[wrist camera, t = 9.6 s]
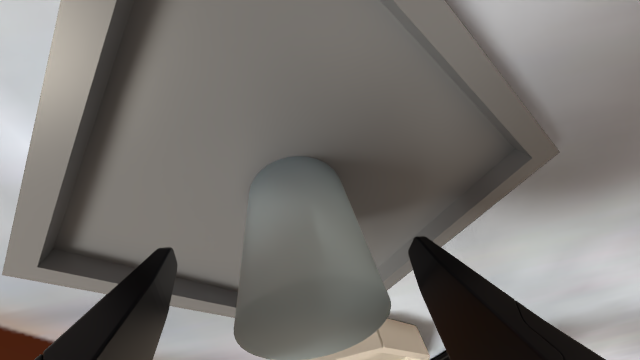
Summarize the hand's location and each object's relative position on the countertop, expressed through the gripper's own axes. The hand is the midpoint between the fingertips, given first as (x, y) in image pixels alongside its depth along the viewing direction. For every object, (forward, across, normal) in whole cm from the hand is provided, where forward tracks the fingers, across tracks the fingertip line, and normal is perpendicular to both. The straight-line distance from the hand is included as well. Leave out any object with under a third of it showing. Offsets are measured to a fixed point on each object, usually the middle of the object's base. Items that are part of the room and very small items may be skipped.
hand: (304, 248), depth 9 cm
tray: (+4, 0, 0) cm, 4 cm away
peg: (+3, 0, 0) cm, 3 cm away
